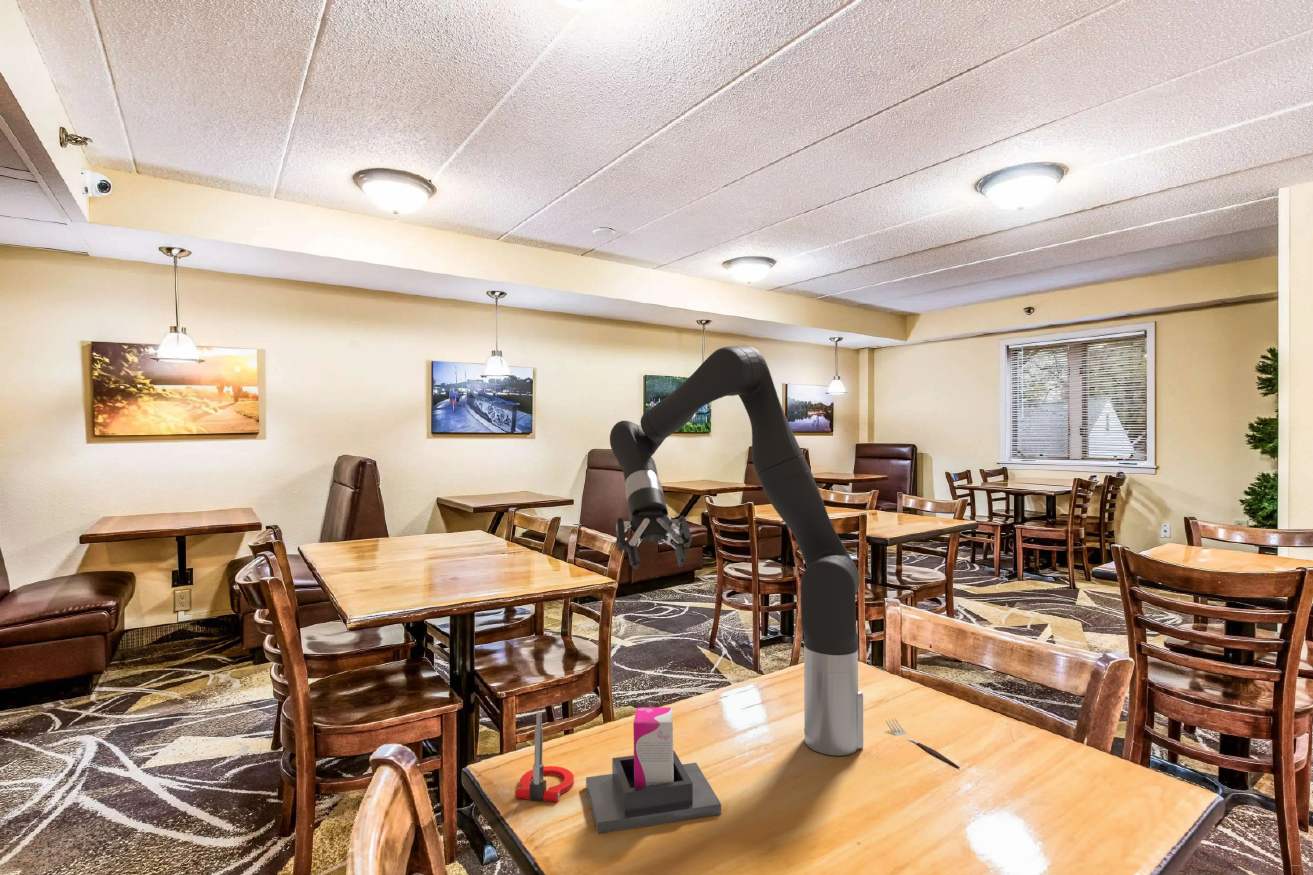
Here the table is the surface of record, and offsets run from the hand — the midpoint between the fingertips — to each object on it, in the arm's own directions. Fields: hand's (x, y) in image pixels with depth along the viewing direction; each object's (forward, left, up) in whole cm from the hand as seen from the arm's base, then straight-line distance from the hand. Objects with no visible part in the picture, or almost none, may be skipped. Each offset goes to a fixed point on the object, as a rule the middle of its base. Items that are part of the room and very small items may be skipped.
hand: (659, 565), depth 119 cm
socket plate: (+7, +22, -31) cm, 38 cm away
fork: (-43, +18, -31) cm, 56 cm away
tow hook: (+22, +14, -31) cm, 40 cm away
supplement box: (+7, +22, -29) cm, 37 cm away
